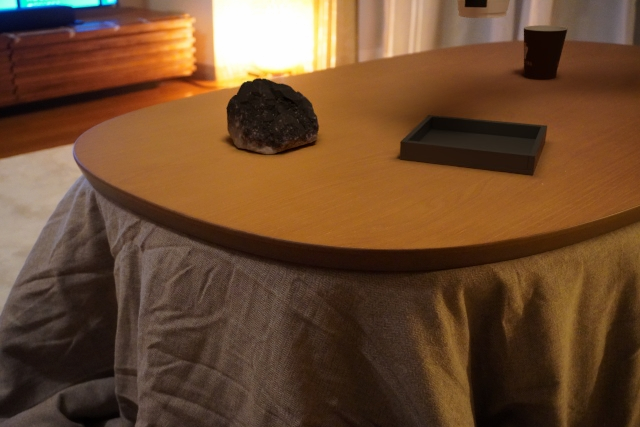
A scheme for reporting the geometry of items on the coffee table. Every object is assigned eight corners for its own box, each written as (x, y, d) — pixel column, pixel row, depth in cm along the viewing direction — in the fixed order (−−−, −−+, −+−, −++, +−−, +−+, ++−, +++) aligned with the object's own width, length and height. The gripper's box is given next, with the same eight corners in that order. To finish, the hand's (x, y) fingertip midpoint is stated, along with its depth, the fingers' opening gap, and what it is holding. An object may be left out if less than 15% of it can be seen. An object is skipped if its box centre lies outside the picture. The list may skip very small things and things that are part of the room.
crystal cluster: (331, 153, 90) (333, 84, 87) (239, 157, 86) (239, 85, 83) (302, 136, 102) (303, 74, 99) (220, 138, 98) (219, 74, 95)
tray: (545, 142, 91) (547, 125, 90) (532, 175, 79) (535, 155, 78) (427, 130, 98) (428, 114, 96) (399, 159, 85) (400, 141, 84)
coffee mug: (556, 82, 127) (563, 31, 123) (514, 78, 131) (519, 29, 127) (567, 71, 136) (573, 24, 132) (526, 68, 140) (532, 23, 136)
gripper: (485, -175, 86) (472, -5, 95) (446, -204, 68) (435, 11, 77) (542, -180, 83) (523, -4, 92) (517, -211, 65) (496, 12, 74)
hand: (483, 3), depth 84 cm, fingers closed on foam cup, 9 cm apart
